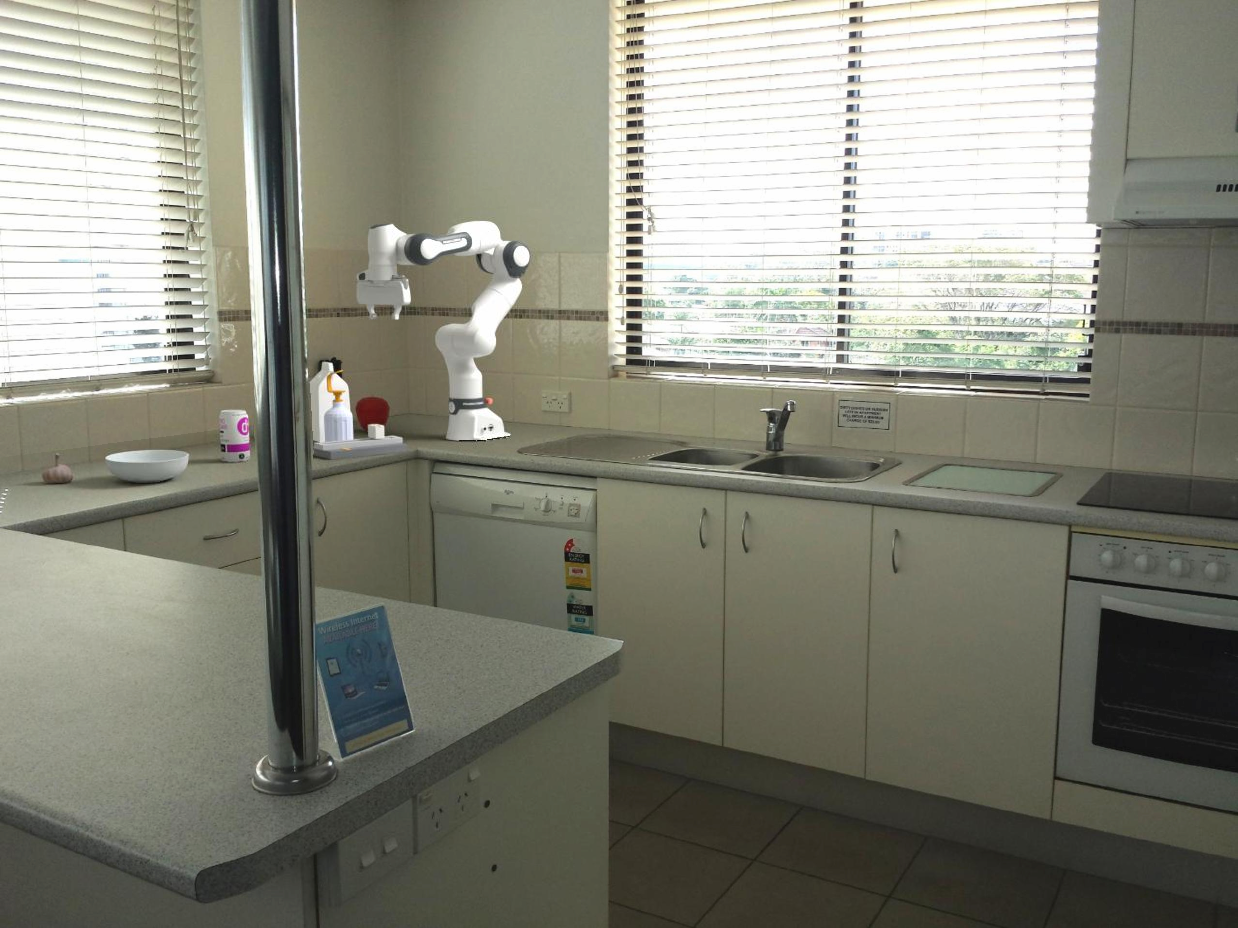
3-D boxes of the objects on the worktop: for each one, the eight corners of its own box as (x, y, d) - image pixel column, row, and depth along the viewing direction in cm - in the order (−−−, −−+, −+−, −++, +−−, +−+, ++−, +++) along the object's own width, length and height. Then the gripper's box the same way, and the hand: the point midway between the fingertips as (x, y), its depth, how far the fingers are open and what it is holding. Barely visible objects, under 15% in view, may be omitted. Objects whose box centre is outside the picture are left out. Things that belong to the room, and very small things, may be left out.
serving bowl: (106, 489, 292) (104, 463, 291) (107, 476, 311) (105, 452, 310) (192, 484, 300) (190, 458, 299) (188, 472, 319) (186, 447, 318)
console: (387, 446, 369) (387, 434, 368) (409, 451, 358) (408, 439, 358) (309, 454, 352) (308, 441, 351) (329, 459, 341) (328, 446, 340)
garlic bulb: (78, 483, 302) (76, 453, 300) (49, 486, 296) (47, 456, 295) (66, 479, 306) (64, 450, 305) (37, 483, 301) (35, 453, 300)
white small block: (376, 441, 361) (376, 423, 360) (384, 443, 357) (384, 425, 356) (368, 442, 359) (367, 424, 358) (376, 444, 355) (375, 426, 355)
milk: (352, 439, 384) (350, 363, 380) (319, 442, 378) (316, 364, 374) (340, 435, 394) (337, 361, 390) (307, 438, 388) (304, 362, 383)
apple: (349, 432, 403) (348, 395, 400) (373, 429, 412) (372, 392, 410) (372, 435, 396) (371, 397, 394) (397, 431, 405) (396, 394, 403)
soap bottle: (349, 447, 367) (347, 371, 364) (321, 446, 368) (318, 371, 364) (356, 443, 376) (354, 369, 372) (329, 442, 376) (326, 369, 373)
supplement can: (255, 459, 341) (253, 410, 339) (238, 463, 334) (235, 413, 331) (233, 457, 344) (230, 408, 342) (215, 462, 336) (212, 411, 334)
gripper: (414, 275, 356) (415, 319, 358) (366, 275, 367) (368, 318, 369) (400, 275, 351) (401, 320, 353) (352, 275, 361) (354, 318, 363)
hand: (384, 319), depth 361 cm, fingers open, 8 cm apart
